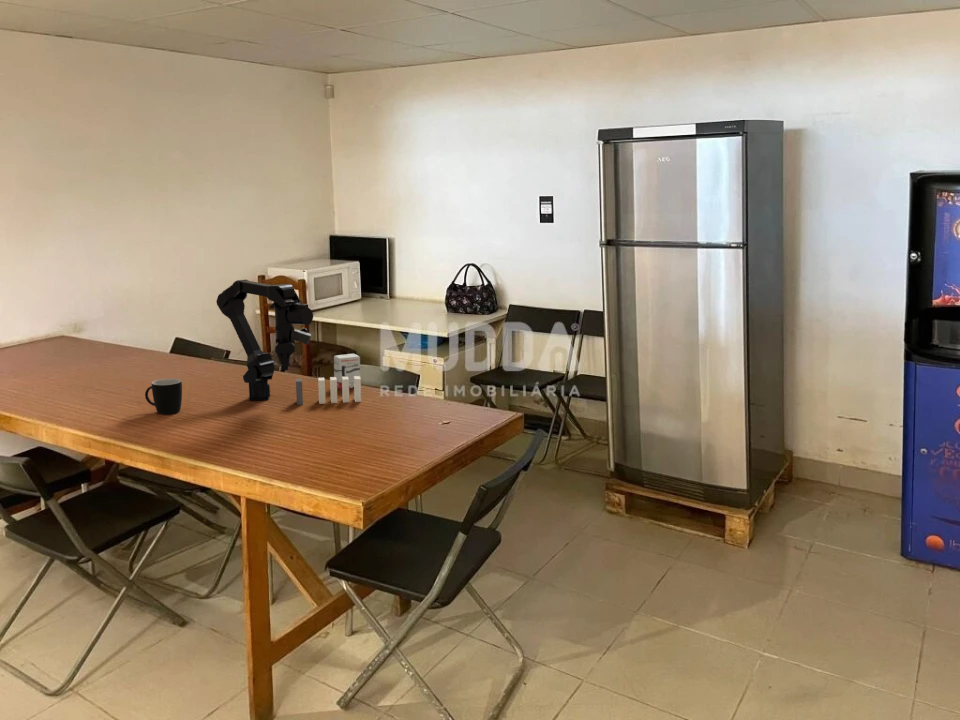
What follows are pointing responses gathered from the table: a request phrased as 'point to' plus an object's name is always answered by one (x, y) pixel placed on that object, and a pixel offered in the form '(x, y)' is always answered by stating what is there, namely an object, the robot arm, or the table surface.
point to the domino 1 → (299, 391)
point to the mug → (166, 395)
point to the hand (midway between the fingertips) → (286, 368)
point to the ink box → (346, 368)
